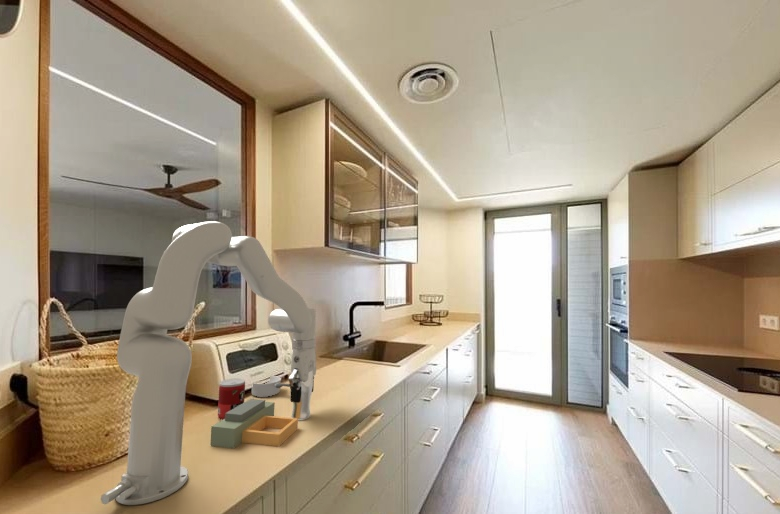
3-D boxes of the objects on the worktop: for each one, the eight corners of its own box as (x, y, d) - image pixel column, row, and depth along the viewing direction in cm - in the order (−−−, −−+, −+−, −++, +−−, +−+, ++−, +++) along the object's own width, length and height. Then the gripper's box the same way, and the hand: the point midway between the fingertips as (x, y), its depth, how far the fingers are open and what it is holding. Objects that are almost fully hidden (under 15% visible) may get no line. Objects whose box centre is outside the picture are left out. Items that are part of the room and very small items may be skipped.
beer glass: (316, 415, 108) (317, 369, 110) (300, 423, 102) (301, 374, 104) (301, 411, 112) (303, 366, 113) (285, 418, 106) (287, 370, 108)
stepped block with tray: (271, 452, 84) (272, 424, 85) (210, 445, 88) (211, 418, 88) (305, 421, 104) (306, 398, 104) (254, 416, 107) (255, 394, 108)
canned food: (233, 421, 103) (235, 385, 104) (211, 419, 105) (213, 383, 106) (248, 412, 111) (250, 379, 112) (228, 410, 112) (229, 377, 113)
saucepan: (281, 405, 118) (281, 389, 118) (243, 395, 127) (244, 381, 128) (303, 395, 128) (303, 381, 128) (267, 387, 137) (267, 374, 138)
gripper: (302, 350, 100) (301, 407, 99) (324, 340, 117) (323, 389, 116) (280, 349, 102) (278, 405, 100) (304, 339, 119) (303, 387, 117)
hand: (302, 396), depth 108 cm, fingers open, 9 cm apart
